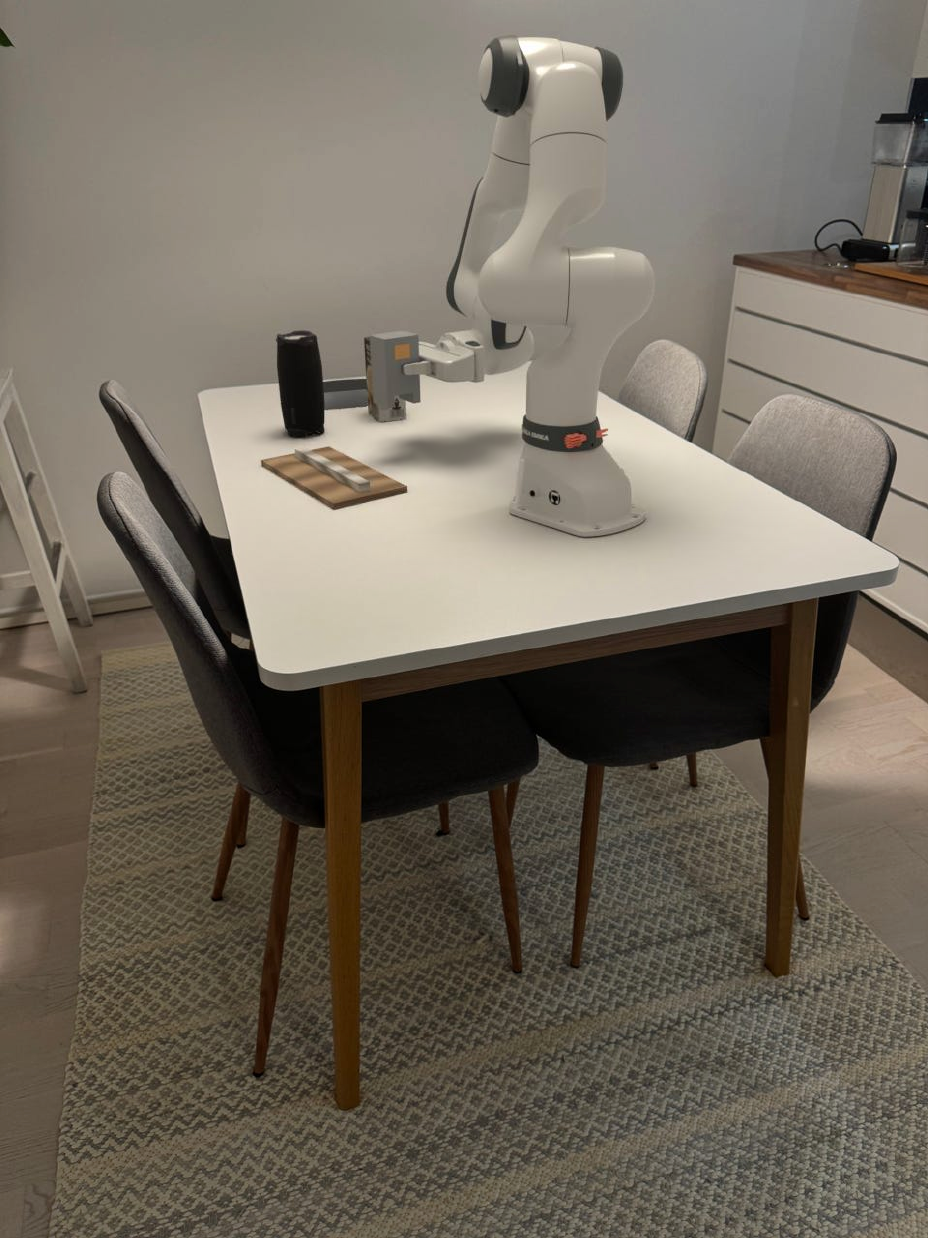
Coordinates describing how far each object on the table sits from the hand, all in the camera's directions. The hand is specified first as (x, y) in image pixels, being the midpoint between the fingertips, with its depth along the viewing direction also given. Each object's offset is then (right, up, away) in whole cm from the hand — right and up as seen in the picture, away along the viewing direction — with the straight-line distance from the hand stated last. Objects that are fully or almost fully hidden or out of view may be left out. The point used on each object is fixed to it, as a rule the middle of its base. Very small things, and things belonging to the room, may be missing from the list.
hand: (393, 366), depth 164 cm
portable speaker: (-20, -7, +23) cm, 31 cm away
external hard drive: (-14, +4, +45) cm, 48 cm away
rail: (-11, -20, -2) cm, 23 cm away
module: (0, -6, +3) cm, 7 cm away
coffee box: (-4, -2, +34) cm, 34 cm away
